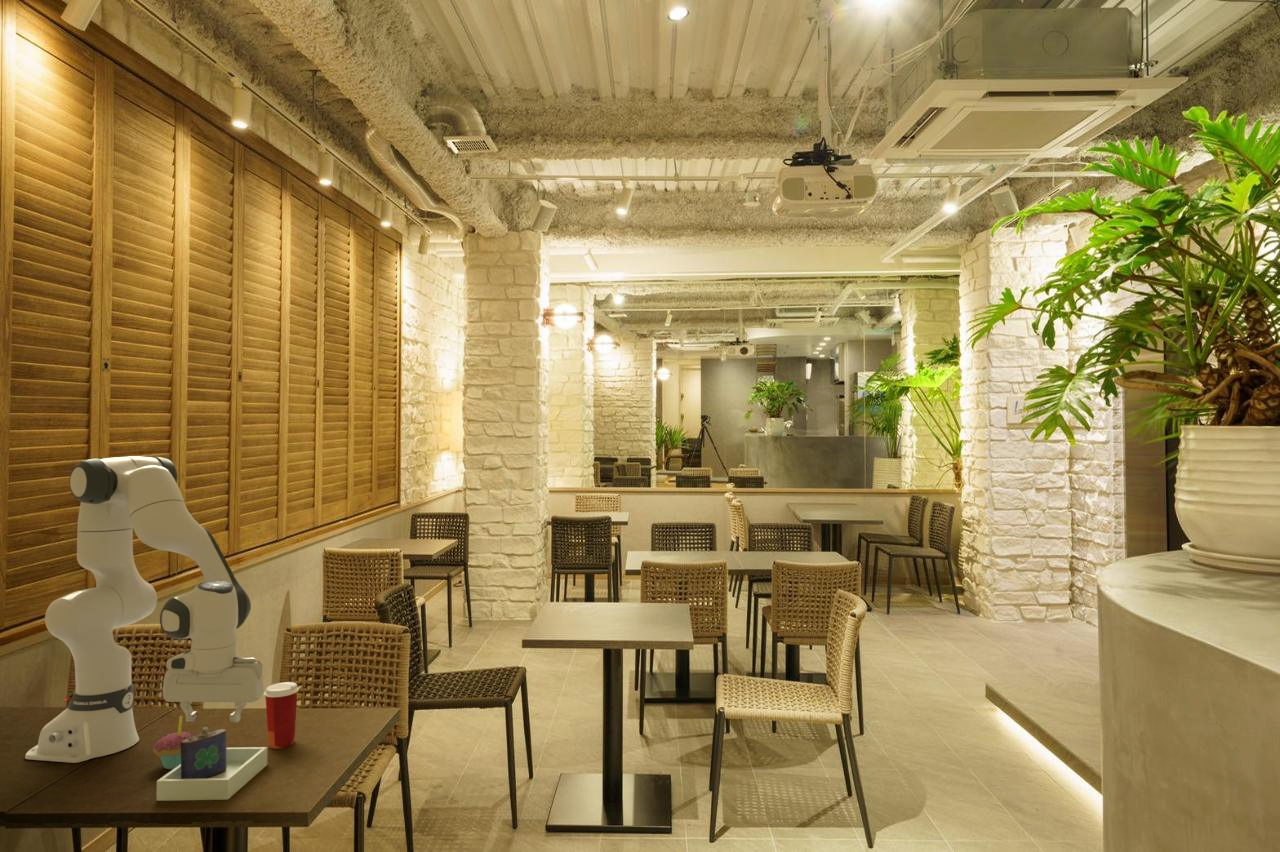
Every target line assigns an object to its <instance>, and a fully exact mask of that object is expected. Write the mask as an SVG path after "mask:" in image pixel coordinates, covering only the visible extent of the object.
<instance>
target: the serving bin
mask: <svg viewBox="0 0 1280 852" xmlns="http://www.w3.org/2000/svg"><path fill="white" fill-rule="evenodd" d="M226 763H227V769H226V771H224V772H223V773H221V774H218V775H216V776H213V777H211V778H208V779H181V764H180V765H179V766H177V767H176V768H174V769H170V771H168V772H167V773H166V774H164V775H163V776H162V777H160V778H159V779H157V781H156V801H159V802H160V801H161V802H163V801H165V802H166V801H168V802H169V801H213V800H214V801H215V800H216V801H218V800H220V801H221V800H222V801H223V800H224V801H225V800H229V799H230V798H232V797H233V796H234V795H235V794H236V793H237V792H238V791H239V790H240V789H242V787H245V785H247V783H248V782H249V781H251V780H252V779H253V778H254V777H255V776H256V775H258V774H259V773H260V772H261V771H262V770H263V769H264V768H265V767H267V765H268V746H260V747H259V746H258V747H257V746H256V747H255V746H254V747H253V746H251V747H250V746H248V747H247V746H246V747H226Z"/></svg>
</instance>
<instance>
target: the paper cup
mask: <svg viewBox="0 0 1280 852" xmlns="http://www.w3.org/2000/svg"><path fill="white" fill-rule="evenodd" d="M299 690H300V689H299V687H298V684H297V683H296V682H291V681H285V682H278V683H273V684H271V685H268V686H267V687H266V688H265V691H263V696H264V697H265V710H266V726H267V737H268V740H267V742H268V747H269V748H270V749H274V750H276V749H277V750H278V749H285V748H288V747H291V746H292V745H294V744H295V743H294V742H295V738H296V737H295V735H296V723H297V706H298V703H297V701H298V692H299Z"/></svg>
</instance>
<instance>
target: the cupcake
mask: <svg viewBox="0 0 1280 852" xmlns="http://www.w3.org/2000/svg"><path fill="white" fill-rule="evenodd" d="M182 725H183V713H180V716H179V719H178V727H177V732H170V733H168V734H166V735H163V737H161V738H159V739H158V740H157V741H156V742H155V744H153V747H152V752H153V754H154V755H156V756H158V757H159V758H160V760H161V762H162V765H163V768H164V769H165V770H173V769H174V768H176V767H177V766H179V765H180V764H181V742H182V741H184V740H186V739H188V738H189V737H191V738H193V737H194V736H195V735H194V734H193V733H191V732H188V731H182Z"/></svg>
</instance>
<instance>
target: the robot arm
mask: <svg viewBox="0 0 1280 852" xmlns="http://www.w3.org/2000/svg"><path fill="white" fill-rule="evenodd" d="M178 480H179V479H178V471H177V468H176V466H175V464H174V463H173V462H172V461H171V460H170V459H168V458H165V457H160V456H140V455H139V456H134V455H129V456H128V455H126V456H120V457H118V456H117V457H107V458H101V459H100V458H96V457H94V458H91V459H85V460H82V461H81V460H80V461H79V462H78V463H76V464H75V466H74V467H73V468H72V470H71V472H70V474H69V481H68V482H69V489H70V492H71V494H72V495H73V497H74V499H76V500H77V501H78V502H80V506H79V510H78V516H77V517H78V518H77V534H76V535H77V536H76V538H77V540H76V560H77V563H78V565H80V567H82V568H83V569H85V570H88V571H90V572H91V573H92V575H93V576H94V579H95V583H96V584H95V585H96V586H95V587H91V588H90V587H89V588H86V589H82V590H81V589H80V590H76V591H73V592H71V593H68V594H65V595H63V596H61V597H59V598H56V599H55V600H53V601H52V602H50V604H49V605H48V607H47V609H46V611H45V613H44V614H45V615H44V623H45V626H46V629H47V630H48V632H49V633H50V635H52V636H53V637H55V638H57V639H58V640H60V641H62V642H63V643H64V644H65V645H66V646H67V648H68V649H69V651H70V652H71V655H72V658H73V663H74V673H75V675H74V677H75V678H74V679H75V691H74V692H72V693H70V694H68V695H67V696H65V697H63V699H64V701H63V703H66V702H68V701H69V703H68V706H67V708H66V709H65V710H63V711H62V712H61V713H60V714H58V715H57V716H55V717H54V718H53V719H52V720H50V721H49V722H48V723H46V724H45V725H44V727H42V729H41V731H40V733H39V737H38V742H37V744H36V745H35V746H33V747H32V748H30V749H29V750H28V751H27V752H26V753H25V759H26V760H33V761H45V762H58V763H61V762H62V763H72V764H76V763H81V762H84V761H88V760H90V759H94V758H99V757H104V756H107V755H111V754H116V753H119V752H121V751H124V750H126V749H129V748H130V747H132V746H135V744H137V743H138V742H139V741H140V737H139V735H138V731H137V729H136V728H137V727H136V724H135V720H134V719H135V718H134V712H133V705H134V683H133V682H132V653H131V652H130V650H129V649H128V648H127V647H125V646H121V645H120V644H117V643H116V640H115V639H114V633H113V632H114V631H113V630H114V629H118V628H123V627H125V626H130V625H134V624H135V623H137V622H139V621H141V620H143V619H144V618H145V619H146V618H147V617H149V616H150V615H151V614H153V612H154V611H155V609H156V608H157V607H156V606H157V604H158V595H157V594H158V593H157V592H156V590H155V588H154V586H153V585H152V584H151V583H149V582H148V581H146V580H145V579H144V578H143V577H142V576H141V575H140V572H139V570H138V569H137V566H136V563H135V559H134V547H133V546H134V543H133V541H134V540H133V538H134V537H133V536H134V535H133V534H134V533H135V535H136V537H137V538H138V539H139V540H140V541H141V543H143V544H144V545H146V546H148V547H150V548H152V549H156V550H158V551H167V552H172V553H176V554H179V555H183V556H186V557H188V558H189V559H191V560H193V561H194V562H195V563H196V564H197V565H198V567H199V569H200V571H201V573H202V575H203V577H204V579H205V581H203V582H200V583H198V584H197V585H195V587H194V588H193V589H192V590H191V591H189V592H186V593H183V594H180V595H177V596H174V597H171V598H169V599H168V600H167V601H166V602H165V603H164V605H163V606H162V608H161V612H160V615H159V624H160V629H161V631H162V632H163V633H164V634H165V635H166V636H168V637H170V638H171V639H173V640H185V639H191V645H190V649H189V650H187V651H184V652H180V653H179V654H177V655H175V656H173V657H171V658H169V659H168V660H167V661H166V668H167V669H168V670H167V671H166V672H165V674H164V676H163V686H162V697H163V699H164V700H165V702H168V703H169V702H170V703H175V702H176V703H180V708H181V710H182V711H183V713H184V715H185V722H186V723H194V722H195V721H197V720H198V716H197V715H198V711H196V710H195V711H194V709H193V707H192V704H193V703H234V707H235V708H236V709H235V711H233V712H231V713H230V714H229V723H238V722H239V721H240V720H241V713H242V711H243V709H244V708H245V706H246V705H247V703H254V702H256V701H257V700H259V699H260V698H261V697H262V696H263V695H264V682H263V675H262V674H263V663H262V662H261V661H260V660H259V659H257V658H256V657H238V649H239V646H238V645H239V643H238V642H239V640H238V636H237V630H238V629H239V628H240V627H242V625H243V624H244V623H245V621H246V620H247V619H248V618H249V615H250V612H251V610H252V609H251V608H252V607H251V606H252V605H251V599H250V597H249V595H248V594H247V592H246V590H245V589H244V588H243V586H241V584H240V583H239V582H238V580H237V578H236V577H235V575H234V573H233V571H232V569H231V567H230V566H229V565H230V564H228V561H227V560H226V557H225V556H224V554H223V552H222V550H221V548H220V547H219V544H218V543H217V540H216V539H215V537H214V536H213V534H212V533H211V532H210V529H208V528H206V527H205V526H203V525H202V524H200V523H199V522H198V521H197V520H195V518H194V517H193V515H191V512H190V511H189V510H188V508H187V505H186V502H185V500H184V496H183V494H182V491H181V490H180V487H179V485H178ZM133 531H134V533H133Z"/></svg>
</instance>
